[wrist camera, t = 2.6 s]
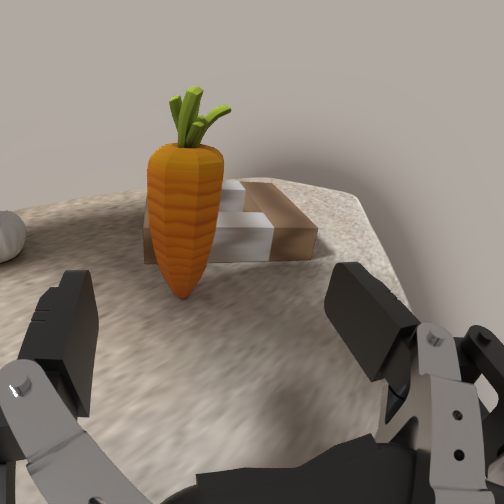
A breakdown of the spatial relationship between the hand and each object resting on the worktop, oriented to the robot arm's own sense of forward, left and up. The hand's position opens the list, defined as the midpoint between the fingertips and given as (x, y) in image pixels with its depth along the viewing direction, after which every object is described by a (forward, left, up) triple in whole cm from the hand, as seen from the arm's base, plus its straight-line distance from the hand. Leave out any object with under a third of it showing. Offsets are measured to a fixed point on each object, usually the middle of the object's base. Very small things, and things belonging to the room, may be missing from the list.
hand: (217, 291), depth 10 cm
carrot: (0, +11, -9) cm, 15 cm away
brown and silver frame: (+5, +23, -9) cm, 25 cm away
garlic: (-18, +18, -9) cm, 27 cm away
